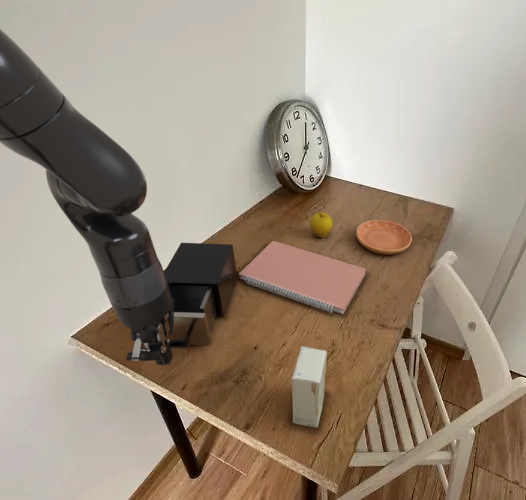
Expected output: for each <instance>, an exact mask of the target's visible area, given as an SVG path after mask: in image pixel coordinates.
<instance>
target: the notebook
mask: <svg viewBox="0 0 526 500" xmlns="http://www.w3.org/2000/svg"><path fill="white" fill-rule="evenodd" d="M366 274H367V268H365V267H361V266H358V265H355V264H352V263H348V262H345V261H341V260H339V259H334V258H332V257H329V256H325V255H322V254H318V253H315V252H311V251H308V250H306V249H303V248H299V247H296V246H293V245H289V244H285V243H284V242H283V243H282V242H280V241H276V240H272V241H271V242H270V243H269V244H268V245H266V247H265V248H264V249H263V250H262V251H260V252H259V254H257V255H256V256H255V257H254V258H253V259H252V261H250V262H249V263H248V264H247V265H246V266H245V267H244V268H243V269H242V270H241V271H240V272H238V275H239V276H240V277H239V279H240V280H243V281H244V282H245V284H248V285H251V286H254V287H256V288H258V289H261V290H264V291H268V292H271V293H274V294H277V295H280V296H282V297H285V298H287V299H290V300H293V301H296V302H298V303H302V304H305V305H308V306H310V307H312V308H316V309H318V310H322V311H324V312H327V313H330V314H332V313H333V312H335V313H337V314H341V315H344V314H345V313H346V310H347V308H348V307H349V305H350V303H351V301H352V299H353V298H354V295H355V294H356V292H357V290H358V289H359V287H360V285H361V283H362V281H363V279H364V278H365V276H366Z"/></svg>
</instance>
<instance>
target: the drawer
mask: <svg viewBox="0 0 526 500" xmlns="http://www.w3.org/2000/svg"><path fill="white" fill-rule="evenodd" d="M168 287H169V291H170V294H171V297H172V298H174V300H175V302H174V322H173V332H172V333H169V336H170V343H169V345H170V348H171V349H188V348H189V347H190V346H211V344H212V336H211V331H212V329H213V326H214V323H215V319H216V318H217V317H216V314H217V311H218V303H217V298H216V292H215V287H210V286H179V285H168Z"/></svg>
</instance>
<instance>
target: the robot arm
mask: <svg viewBox="0 0 526 500" xmlns="http://www.w3.org/2000/svg"><path fill="white" fill-rule="evenodd" d="M0 144H1V145H2V146H4V147H5V148H7V149H8V150H10V151H12V152H13V153H15V154H17V155H19V156H21V157H22V158H25V159H28V160H29V161H31V162H33V163H35V164H38V165H39V166H41V167H42V168H44V169H45V177H46V183H47V186H48V188H49V191H50V193H51V195H52V197H53V199H54V200H55V202H56V204H57V205H58V206H59V208H60V210H61V212H63V214H64V215H65V217H66V218H67V219H68V220H69V222H70V223H71V224H72V226H73V228H74V229H75V230H76V232H77V233H78V234H79V235H80V237H82V238H83V240H84V241H85V243H86V244H87V246H88V249H89V251H90V254H91V257H92V259H93V261H94V263H95V266H96V268H97V271H98V273H99V276H100V280H101V284H102V287H103V289H104V291H105V294H106V296H107V298H108V300H109V303H110V305H111V307H112V309H113V311H114V313H115V316H116V318H117V320H118V321H119V322H120V323H121V324H122V325H123V326H125V327H127V328H128V329H129V331H130V333H129V334H130V339H131V341H132V342H134V344H133V349H132V350H131V351H127V354H126V361H127V362H128V361H129V362H149V361H150V362H151V361H155V364H156V365H157V366H169V365H170V364H171V362H172V360H173V357H174V354H173V352H172V348H170V345H169V343H170V336H169V333H172V332H173V322H174V302H175V300H174V298H172V297H171V294H170V291H169V287H168V284H167V281H166V277H165V274H164V271H165V270H164V268H163V265H162V263H161V261H160V259H159V257H158V255H157V252H156V248H155V246H154V242H153V239H152V235H151V233H150V230H149V228H148V226H147V225H146V223H145V222H144V221H143V220H142V219H140V218H139V217H138V216H136V215H135V214H133V213H134V212H137V210H139V209H140V208H141V207H142V206H143V204H144V203H145V201H146V198H147V194H148V183H147V182H148V181H147V179H146V176H145V173H144V172H143V169H142V168H141V166H140V165H139V163H138V162H137V161H136V159H135V158H134V157H133V156H132V155H131V154H130V153H129V152H128V151H126V149H125V148H123V147H122V145H120V144H119V143H118V142H117V141H115V140H114V139H113V137H111V136H109V135H108V134H107V133H106V132H105V131H104V130H102V129H101V128H100V127H99V126H97V125H96V124H95V123H93V122H92V121H91V120H90V119H88V118H87V117H86V116H85V115H84V114H82V113H81V112H80V111H79V110H77V109H76V107H74V105H73V104H72V103H71V101H70V100H69V99H68V98H67V97H66V96H65V94H64V93H63V92H62V91H61V90H60V88H58V87H57V86H56V85H55V83H54V82H53V81H52V80H51V78H49V77H48V75H47V74H46V73H45V72H44V71H43V70H42V69H41V68H40V67H39V66H38V65H37V63H36V62H35V61H34V60H33V59H32V58H31V57H30V56H29V55H28V54H27V53H26V52H25V50H24V49H22V47H20V46H19V45H18V43H17V42H15V41H14V40H13V39H12V38H11V37H10V36H9V35H8V34H6V32H5V31H4V30H3V29H1V28H0Z"/></svg>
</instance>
